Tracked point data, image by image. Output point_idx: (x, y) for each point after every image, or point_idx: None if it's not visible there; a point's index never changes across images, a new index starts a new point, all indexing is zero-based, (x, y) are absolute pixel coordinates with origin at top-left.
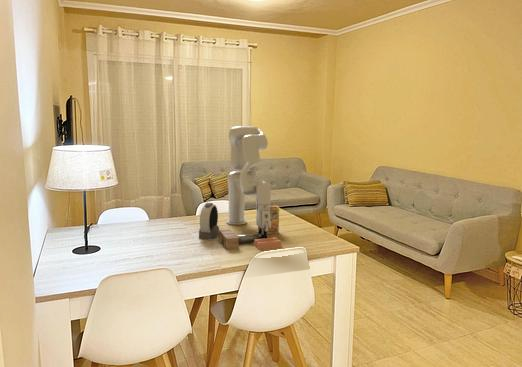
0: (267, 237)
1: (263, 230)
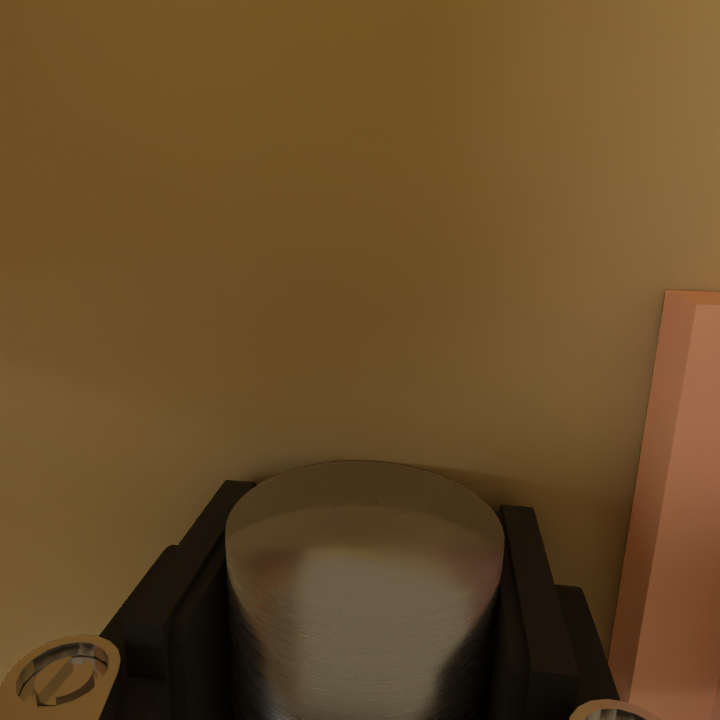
0: (502, 536)
1: (118, 678)
